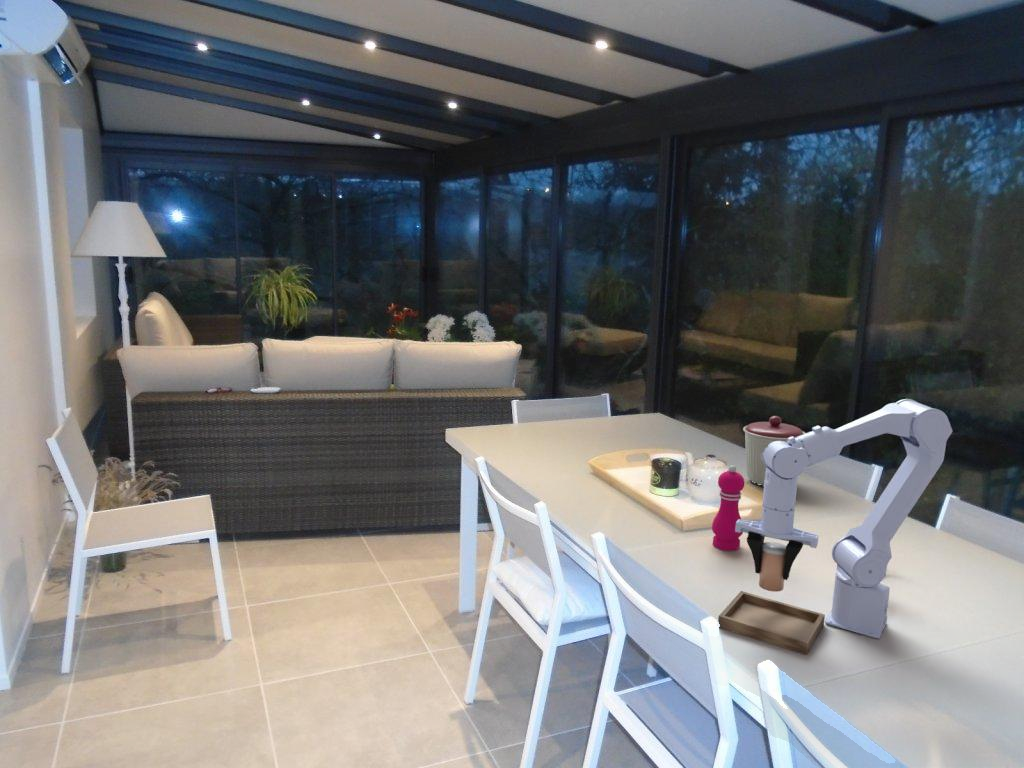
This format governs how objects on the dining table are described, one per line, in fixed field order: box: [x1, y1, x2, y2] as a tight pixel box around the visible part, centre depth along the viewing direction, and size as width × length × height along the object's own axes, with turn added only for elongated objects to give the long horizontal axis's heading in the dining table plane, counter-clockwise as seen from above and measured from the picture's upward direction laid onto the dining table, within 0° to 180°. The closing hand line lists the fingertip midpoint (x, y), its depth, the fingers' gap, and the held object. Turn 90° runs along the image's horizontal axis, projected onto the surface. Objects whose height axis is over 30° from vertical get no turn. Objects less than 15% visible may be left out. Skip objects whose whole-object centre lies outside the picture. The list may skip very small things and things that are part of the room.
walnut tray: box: [717, 590, 826, 656], centre depth 139 cm, size 16×13×2 cm
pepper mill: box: [711, 464, 745, 552], centre depth 175 cm, size 7×7×20 cm
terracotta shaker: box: [758, 541, 787, 592], centre depth 139 cm, size 5×5×8 cm
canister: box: [742, 415, 807, 485], centre depth 224 cm, size 18×18×21 cm
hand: (772, 574), depth 139 cm, fingers closed on terracotta shaker, 4 cm apart
